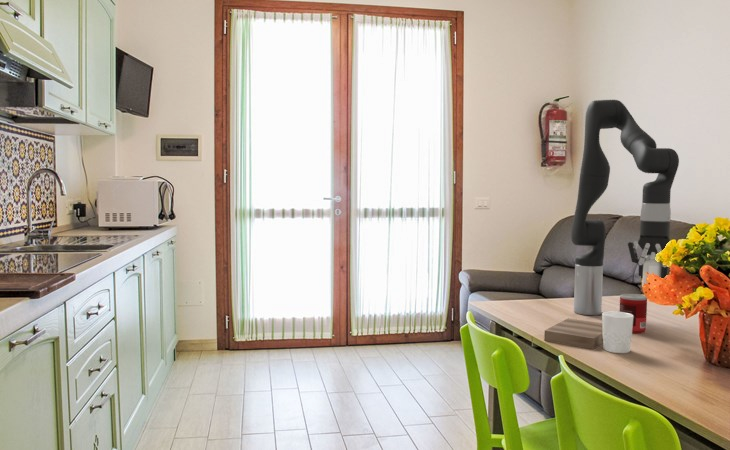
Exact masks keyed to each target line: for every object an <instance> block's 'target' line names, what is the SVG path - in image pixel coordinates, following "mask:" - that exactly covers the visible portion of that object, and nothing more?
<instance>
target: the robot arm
mask: <svg viewBox="0 0 730 450" xmlns="http://www.w3.org/2000/svg"><path fill="white" fill-rule="evenodd" d="M632 115H633V114H631V112H630V111H629V110H628V108H627V106H626V105H625V104H624V103H623V102H622V101H620V100H618V99H597V100H591V101H590V102H589V103H588V105H587V108H586V112H585V119H584V120H585V121H584V141H583V143H584V144H583V151H582V161H581V167H580V173H579V181H578V192H577V201H576V206H575V211H574V214H573V220H572V225H571V230H570V231H571V233H570V236H571V237H570V239H571V242H572V244H573V245H575V246H584V247H586V246H587V247H588V246H590V250H588V251H586V252H583V253H581V254H579V255H576V256H575V259H574V260H575V261H574V291H573V293H574V297H573V312H574V313H576V314H578V315H579V314H580V315H585V316H599V315H602V308H603V307H602V305H603V304H602V303H603V274H604V273H603V272H604V257H605V245H606V234H607V233H606V225H605V222H604V221H603V220H601V219H587V216H588V214H589V212H590V209H592V207H593V205H594V204H595V203H596V202H597V201H598V200H599V199H601V197H602V195H603V194H605V193H604V192H605V191H606V190H607V188H608V186H609V180H610V175H611V165H610V163H609V160H608V159H607V156H606V154H605V152H604V151H603V148H602V147H601V142H600V133H601V130H604V129H605V130H606V129H608V130H609V129H615V128H616V129H618V130H619V131H620V143H621V144H622V146H623V147H624V148H625V150H627V152H628V153H629V154H630V155H631V156H632V157H633V160H634V162H635V165H636V167H637V169H638V170H639V171H640V172H642V173H645V174H657V177H656V178H655V180H654V181H649V182H646V183H645V184H643V185H642V203H641V210H640V217H639V218H640V225H639V226H640V227H639V228H640V229H639V239H637V240H636V241H630V242H628V243H627V246H628V247H627V248H628V250H629V255H630V259H631V262H632V263H633V264H634V263H635V264H637V265H638V277H640V279H643V264H644V262H645V261H647V260H648V258H649V255H651V253H652V252H655V254H657V253H659V252H660V251H662V250H663V249H664V248H665V246H666V244H667V243H668V242H669V241H671V238H670V237H671V234H670V233H671V215H672V213H671V189H672V186H673V183H674V181H675V177H676V174H677V172H678V169H679V164H680V158H679V154H678V153H677V151H676V150H675V149H673V148H669V147H668V148H666V147H661V148H658V147H657V143H656V140H655V139H654V138H653V137H651V135H650V134H648V133H647V132H646V131H644V129H642V127H640V126H639V124H638V122H636V119H635V118H634V117H633V116H632ZM638 246H639V247H640V249H641V250H642V252H641V255H640V257H639V256H638V253H637V249H638ZM662 265H663V264H662ZM669 268H670V266H669V267H667V266H664V265H663V267H662V274H661V278H664V277H665V276H666V275H668V276H669Z"/></svg>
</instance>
